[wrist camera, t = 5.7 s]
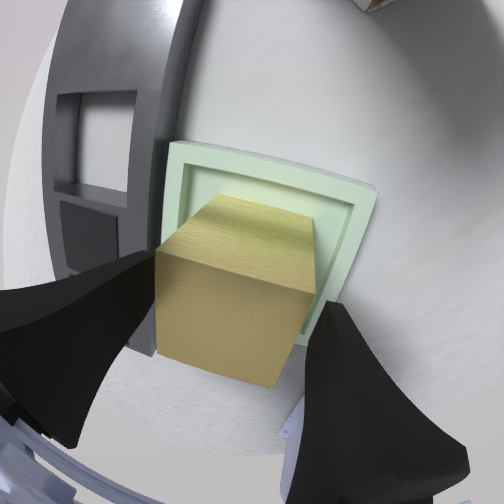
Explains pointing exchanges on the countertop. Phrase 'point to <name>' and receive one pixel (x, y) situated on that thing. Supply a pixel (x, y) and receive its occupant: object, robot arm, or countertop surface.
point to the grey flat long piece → (142, 137)
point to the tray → (274, 205)
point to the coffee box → (372, 4)
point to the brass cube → (235, 289)
